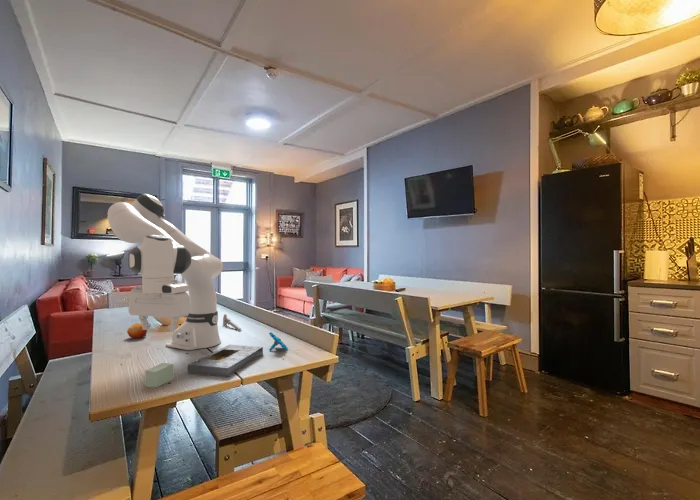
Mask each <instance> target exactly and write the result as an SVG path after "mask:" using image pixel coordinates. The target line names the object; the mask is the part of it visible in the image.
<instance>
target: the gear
mask: <svg viewBox="0 0 700 500" xmlns="http://www.w3.org/2000/svg"><path fill="white" fill-rule="evenodd" d="M268 334H269V336H270V337H271V338H272V339H273V340H274V342H273V344H272V345H271V346H270V348H269V349H268V350H269V351H270V352H272V351H273V349H274V348H275V347H277V346H278V345H279V346H280V347H281V348H283V349H284V350H286V351H287V350H288V347H287V345H286V344H285V343H284V342H283V341H282V340H281V338H279V337H278V336H276V334H274V333H273V332H272V331H270V332H269V333H268Z"/></svg>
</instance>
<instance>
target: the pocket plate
mask: <svg viewBox="0 0 700 500" xmlns="http://www.w3.org/2000/svg"><path fill="white" fill-rule="evenodd" d="M263 355H264V347H263V346H255V345H252V346H251V345H240V344H239V345H237V344H228V345H226V346H224V347H222V348H219V349H217V350H215V351H213V352H211V353H208V354H207V355H204V356H203V357H201V358H198V359H197V360H195V361H193V362H191V363H188V365H187V367H188V368H187V374H188V375H189V374H191V375H197V376H198V375H200V376H201V375H202V376H209V377H211V376H212V377H221V378H229V377H231V376H232V375H234V374H235V373H237V372H238V371H240V370H242V369H243V368H244V367H246V366H247V365H249V364H250V363H252V362H254V361H256V360H257V359H259V358H260V357H262V356H263Z"/></svg>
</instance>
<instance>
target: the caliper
mask: <svg viewBox="0 0 700 500" xmlns="http://www.w3.org/2000/svg"><path fill="white" fill-rule="evenodd" d="M222 325H223V326H224V325H226V326H227V325H228V326H229V325H230V326H231V327H232V328H233V329H235V330H236V331H238V332H242V331H243V330H242V328H241V327H240V326H238V325H237V324H235V323H234V322H233V321H232V320H231V319H230V318H229V317H228V315H227V314H226V313H225V314H223V318H222Z"/></svg>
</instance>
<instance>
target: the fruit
mask: <svg viewBox="0 0 700 500" xmlns="http://www.w3.org/2000/svg"><path fill="white" fill-rule="evenodd" d="M126 333H127V335H128V336H129V337H130V338H131V339H135V340H138V339H142V338H144V337H147V333H148V330H143V329H142V323H141V322H136V323H134V324H131V325H130V326H128V328H127V330H126Z"/></svg>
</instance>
